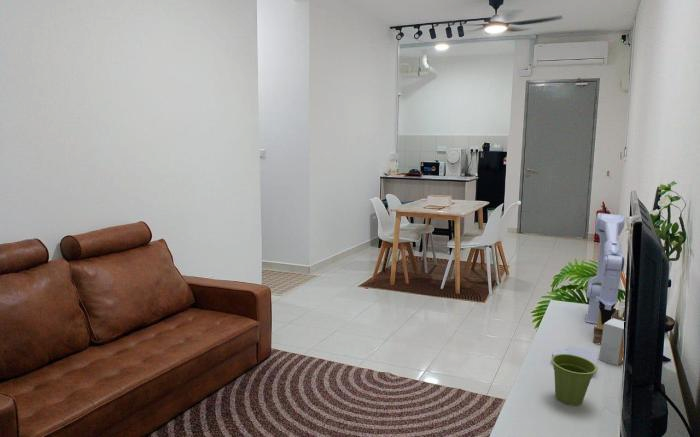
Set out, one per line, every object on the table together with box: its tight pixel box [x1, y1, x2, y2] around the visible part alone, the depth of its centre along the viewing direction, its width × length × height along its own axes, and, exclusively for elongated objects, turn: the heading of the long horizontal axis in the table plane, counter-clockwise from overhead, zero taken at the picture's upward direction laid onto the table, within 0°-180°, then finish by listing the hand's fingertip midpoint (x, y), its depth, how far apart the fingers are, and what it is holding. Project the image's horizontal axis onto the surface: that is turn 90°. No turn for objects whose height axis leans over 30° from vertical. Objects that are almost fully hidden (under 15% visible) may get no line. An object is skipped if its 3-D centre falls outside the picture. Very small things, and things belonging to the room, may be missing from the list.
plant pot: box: [551, 354, 598, 407], centre depth 147 cm, size 12×12×11 cm
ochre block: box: [596, 309, 612, 329], centre depth 192 cm, size 4×4×7 cm
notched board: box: [592, 326, 603, 345], centre depth 192 cm, size 11×8×2 cm
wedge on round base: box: [550, 345, 598, 366], centre depth 169 cm, size 9×7×13 cm
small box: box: [598, 317, 625, 366], centre depth 175 cm, size 8×6×13 cm
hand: (604, 322), depth 192 cm, fingers closed on ochre block, 4 cm apart
